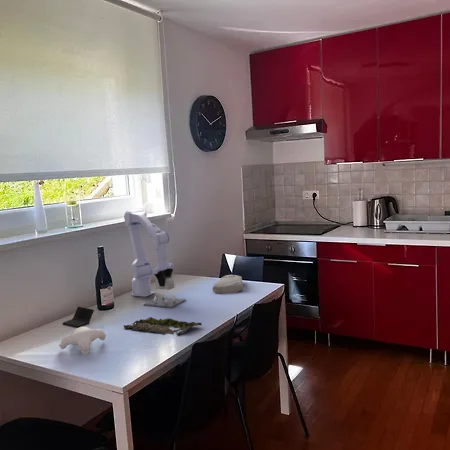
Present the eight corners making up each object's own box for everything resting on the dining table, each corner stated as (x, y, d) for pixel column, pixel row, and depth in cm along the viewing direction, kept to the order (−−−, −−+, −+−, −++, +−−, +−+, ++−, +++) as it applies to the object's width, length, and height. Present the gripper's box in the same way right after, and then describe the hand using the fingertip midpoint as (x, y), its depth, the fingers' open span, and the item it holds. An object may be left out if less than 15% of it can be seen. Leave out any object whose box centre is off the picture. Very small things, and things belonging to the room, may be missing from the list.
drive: (155, 288, 226) (154, 277, 225) (160, 286, 230) (159, 275, 229) (169, 289, 222) (168, 278, 222) (174, 287, 226) (173, 276, 225)
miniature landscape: (203, 326, 189) (202, 319, 188) (188, 338, 178) (187, 331, 178) (138, 321, 203) (137, 314, 202) (121, 332, 193) (120, 325, 192)
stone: (243, 292, 235) (242, 282, 235) (213, 294, 235) (212, 284, 235) (241, 282, 256) (240, 273, 256) (213, 284, 256) (213, 275, 256)
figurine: (60, 354, 180) (61, 361, 163) (56, 329, 180) (57, 334, 164) (105, 344, 186) (111, 349, 169) (101, 320, 187) (107, 323, 170)
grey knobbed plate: (143, 305, 224) (143, 299, 224) (158, 298, 234) (158, 292, 234) (171, 308, 216) (171, 302, 216) (185, 300, 227) (185, 295, 226)
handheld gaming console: (58, 322, 202) (69, 301, 206) (68, 327, 208) (78, 306, 212) (78, 328, 197) (89, 306, 201) (88, 334, 203) (98, 312, 207)
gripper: (160, 260, 216) (162, 289, 218) (177, 254, 229) (179, 281, 230) (147, 260, 219) (150, 288, 221) (165, 254, 232) (168, 281, 234)
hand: (164, 285), depth 226 cm, fingers closed on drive, 4 cm apart
